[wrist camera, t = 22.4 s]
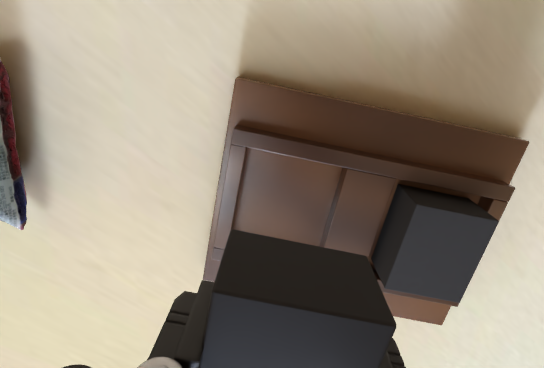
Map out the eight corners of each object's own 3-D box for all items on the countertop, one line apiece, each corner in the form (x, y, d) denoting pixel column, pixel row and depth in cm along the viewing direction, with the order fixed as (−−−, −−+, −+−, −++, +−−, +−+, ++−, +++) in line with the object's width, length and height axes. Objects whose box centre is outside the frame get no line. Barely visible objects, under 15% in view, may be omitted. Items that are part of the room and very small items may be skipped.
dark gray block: (230, 227, 12) (211, 289, 9) (367, 254, 12) (398, 325, 9) (207, 355, 14) (184, 444, 11) (324, 376, 14) (337, 470, 11)
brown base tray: (237, 76, 22) (232, 78, 20) (517, 137, 23) (544, 146, 20) (206, 270, 27) (198, 290, 25) (435, 314, 28) (449, 338, 26)
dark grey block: (397, 183, 23) (416, 204, 20) (468, 198, 23) (499, 220, 20) (370, 258, 25) (384, 289, 22) (436, 271, 25) (459, 303, 22)
